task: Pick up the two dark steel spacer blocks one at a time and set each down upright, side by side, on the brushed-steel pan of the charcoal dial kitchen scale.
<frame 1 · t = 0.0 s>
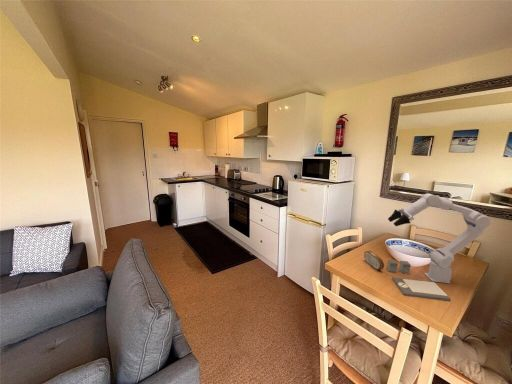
hand: (391, 222, 123), 32 cm above the table, tool tilted 50°, fingers open, 7 cm apart
tin: (372, 266, 137), on the table
scale: (419, 289, 115), on the table
spacer b: (403, 271, 131), on the table
spacer a: (391, 270, 133), on the table
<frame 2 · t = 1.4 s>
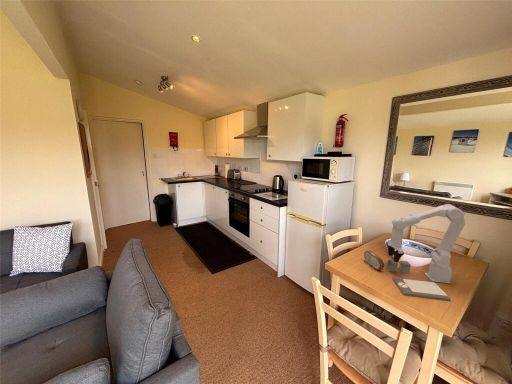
hand: (393, 258, 131), 8 cm above the table, tool pointing down, fingers open, 7 cm apart
nothing on the table moved.
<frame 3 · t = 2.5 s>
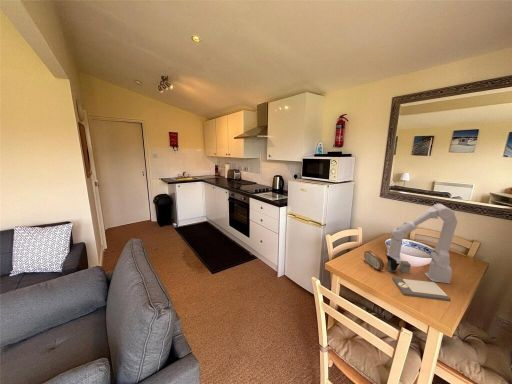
hand: (391, 268, 132), 1 cm above the table, tool pointing down, fingers closed on spacer a, 4 cm apart
spacer a: (391, 270, 133), on the table, touching gripper
everything else where it was.
when the fingers open (4 cm above the table, at t = 6.6 s): spacer a stays where it is, resting on scale.
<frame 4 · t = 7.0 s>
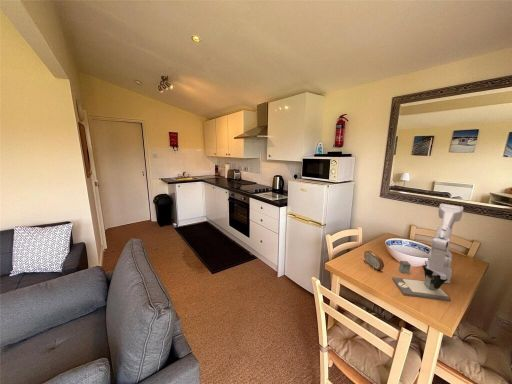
hand: (431, 283, 113), 4 cm above the table, tool pointing down, fingers open, 7 cm apart
spacer a: (430, 287, 114), point 2 cm above the table, touching scale
everything else where it was.
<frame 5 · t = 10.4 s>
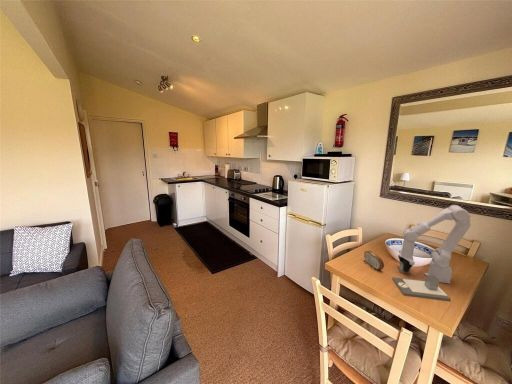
hand: (404, 269, 131), 1 cm above the table, tool pointing down, fingers closed on spacer b, 4 cm apart
spacer b: (403, 271, 131), on the table, touching gripper
everything else where it was.
when the fingers open (4 cm above the table, at t = 14.2 s): spacer b stays where it is, resting on scale.
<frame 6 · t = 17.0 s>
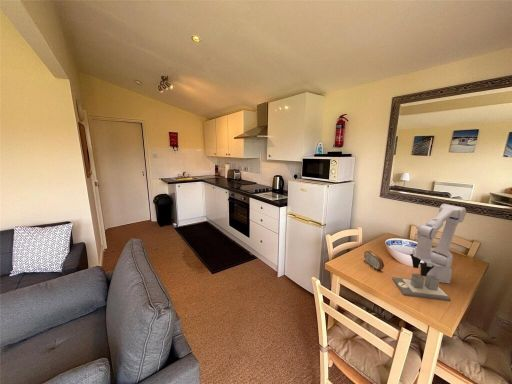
hand: (419, 271, 113), 10 cm above the table, tool pointing down, fingers open, 7 cm apart
spacer b: (416, 285, 115), point 2 cm above the table, touching scale
everything else where it was.
at the end: spacer a inside the target area on the scale (3.3 cm from its centre), point 1.8 cm above the scale's base; spacer b inside the target area on the scale (3.6 cm from its centre), point 1.8 cm above the scale's base; spacer b tilted 0° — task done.
